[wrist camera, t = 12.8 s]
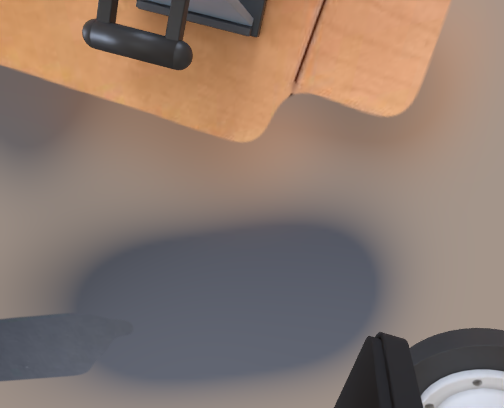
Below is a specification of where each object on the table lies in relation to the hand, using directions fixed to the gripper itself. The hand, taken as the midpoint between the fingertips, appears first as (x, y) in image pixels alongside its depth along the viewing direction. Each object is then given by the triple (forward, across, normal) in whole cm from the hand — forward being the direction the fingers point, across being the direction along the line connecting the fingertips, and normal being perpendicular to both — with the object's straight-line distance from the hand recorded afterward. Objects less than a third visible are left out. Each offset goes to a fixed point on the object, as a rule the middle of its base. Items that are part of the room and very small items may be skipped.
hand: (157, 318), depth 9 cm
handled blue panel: (+22, +8, -6) cm, 24 cm away
